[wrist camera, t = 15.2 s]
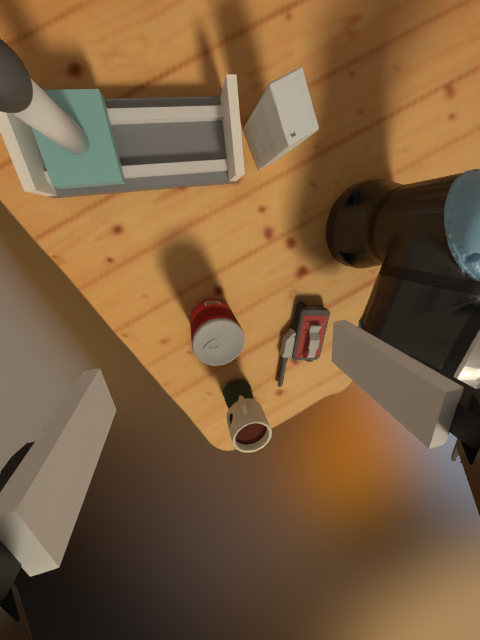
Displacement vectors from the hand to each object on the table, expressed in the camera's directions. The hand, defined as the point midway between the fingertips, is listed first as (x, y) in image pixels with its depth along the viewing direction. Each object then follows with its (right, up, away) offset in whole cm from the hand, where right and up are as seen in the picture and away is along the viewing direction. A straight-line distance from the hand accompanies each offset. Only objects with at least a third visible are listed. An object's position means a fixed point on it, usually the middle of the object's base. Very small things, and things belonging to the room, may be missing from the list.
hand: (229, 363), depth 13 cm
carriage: (-19, +24, +16) cm, 35 cm away
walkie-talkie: (+13, -3, +39) cm, 41 cm away
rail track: (-13, +27, +20) cm, 36 cm away
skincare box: (+4, +30, +23) cm, 38 cm away
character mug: (0, -13, +39) cm, 41 cm away
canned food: (-5, +3, +32) cm, 32 cm away
